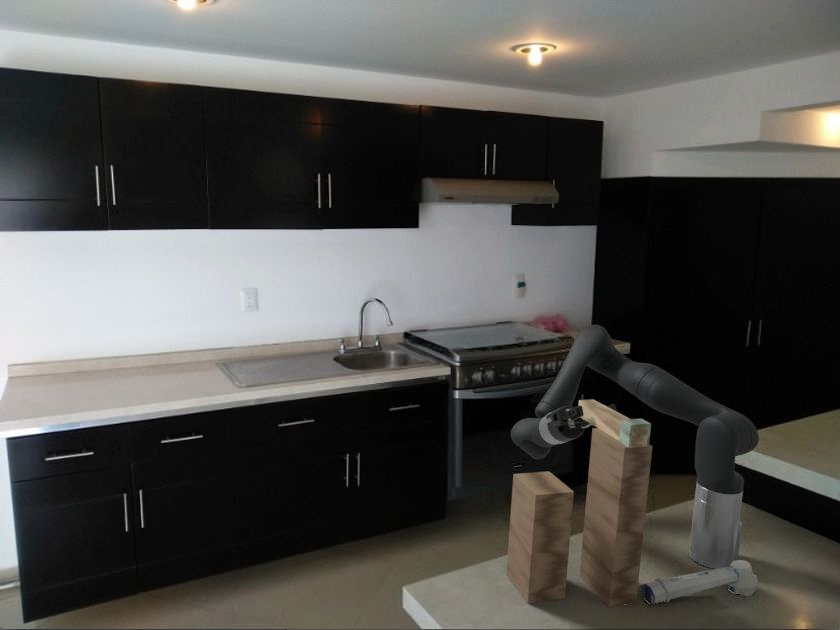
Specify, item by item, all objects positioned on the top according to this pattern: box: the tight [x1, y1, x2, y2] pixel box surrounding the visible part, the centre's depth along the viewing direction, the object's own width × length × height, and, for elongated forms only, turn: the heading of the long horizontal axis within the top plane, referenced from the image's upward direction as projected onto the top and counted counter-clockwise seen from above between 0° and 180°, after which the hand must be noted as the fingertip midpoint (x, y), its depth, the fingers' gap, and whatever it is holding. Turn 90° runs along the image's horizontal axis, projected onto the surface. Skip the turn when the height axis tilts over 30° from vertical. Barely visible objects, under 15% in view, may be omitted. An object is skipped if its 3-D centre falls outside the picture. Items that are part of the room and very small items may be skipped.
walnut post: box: [578, 427, 653, 608], centre depth 124 cm, size 6×11×32 cm, turn 16°
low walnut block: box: [505, 470, 575, 604], centre depth 124 cm, size 8×10×22 cm
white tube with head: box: [640, 559, 759, 606], centre depth 125 cm, size 5×7×25 cm
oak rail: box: [577, 399, 652, 448], centre depth 125 cm, size 4×19×4 cm, turn 16°
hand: (598, 409), depth 129 cm, fingers open, 7 cm apart
